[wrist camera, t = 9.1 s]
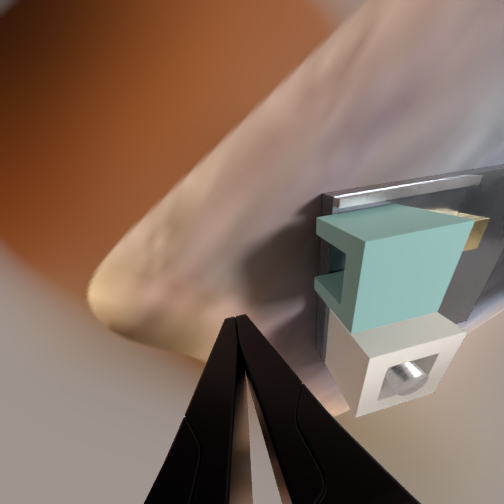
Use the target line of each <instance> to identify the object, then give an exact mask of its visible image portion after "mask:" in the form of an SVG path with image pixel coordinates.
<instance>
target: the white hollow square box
mask: <svg viewBox="0 0 504 504" xmlns="http://www.w3.org/2000/svg"><path fill="white" fill-rule="evenodd" d="M466 333H467V331H466V330H464V329H462V328H461V327H459V326H458V325H456V324H455V323H453V322H452V321H450V320H449V319H447V318H446V317H444V316H442V315H441V314H439V313H438V312H434V313H430V314H427V315H423V316H419V317H415V318H411V319H407V320H403V321H400V322H396V323H392V324H388V325H384V326H380V327H376V328H373V329H369V330H365V331H361V332H357V333H353V334H351V333H350V332H349V331H348V330H347V328H346V327H345V326H344V325H343V324H342V322H341V321H340V320H339V319H338V318H337V316H336V315H335V314H334V313H333V311H332V310H331V309H330V312H329V323H328V335H327V347H326V358H325V365H326V366H327V368H328V370H329V372H330V373H331V375H332V377H333V379H334V381H335V382H336V384H337V386H338V388H339V389H340V391H341V393H342V395H343V396H344V398H345V400H346V402H347V404H348V405H349V407H350V409H351V410H352V412H353V414H354V416H355V417H359V416H362V415H365V414H369V413H371V412H375V411H378V410H381V409H384V408H387V407H390V406H394V405H397V404H400V403H404V402H407V401H410V400H413V399H416V398H419V397H423V396H426V395H429V394H432V393H434V392H435V390H436V388H437V387H438V385H439V383H440V381H441V379H442V377H443V375H444V374H445V372H446V370H447V368H448V366H449V364H450V362H451V360H452V359H453V357H454V355H455V353H456V351H457V349H458V348H459V346H460V344H461V342H462V340H463V339H464V337H465V335H466ZM410 361H414V362H415V363H416V364H417V365H418V366H419V367H420V368H421V369H422V370H423V371H424V372H425V373H426V374H427V375H428V380H427V382H426V383H425V385H424V386H423V387H421V388H420V389H419V390H417V391H416V392H414V393H412V394H409V395H405V396H399V395H398V394H397V393H396V392H395V391H394V390H393V388H392V387H391V386H390V385H389V383H388V382H387V381H386V380H385V378H384V377H385V374H386V371H387V368H389V367H392V366H396V365H399V364H403V363H406V362H410Z"/></svg>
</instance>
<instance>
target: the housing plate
mask: <svg viewBox="0 0 504 504" xmlns="http://www.w3.org/2000/svg"><path fill="white" fill-rule="evenodd" d="M390 204H399V205H404V206H409V207H414V208H419V209H424V210H429V211H434V212H439V213H444V214H449V215H453V216H458V217H463V218H468V219H473V220H475V222H474V225H473V227H472V230H471V232H470V234H469V237H468V239H467V242H466V244H465V247H464V249H463V251H462V254H461V256H460V259H459V261H458V264H457V266H456V268H455V271H454V273H453V276H452V278H451V281H450V283H449V285H448V288H447V290H446V293H445V295H444V297H443V300H442V302H441V305H440V307H439V310H438V313H439V314H441V315H442V316H444V317H446V318H447V319H449V320H450V321H452V322H453V323H455V324H456V323H460V322H464V321H467V319H468V317H469V315H470V313H471V311H472V309H473V308H474V306H475V304H476V302H477V300H478V298H479V296H480V294H481V292H482V290H483V288H484V286H485V284H486V282H487V280H488V278H489V277H490V275H491V273H492V271H493V269H494V267H495V265H496V263H497V261H498V259H499V257H500V255H501V253H502V251H503V249H504V164H503V165H497V166H491V167H484V168H478V169H472V170H466V171H460V172H453V173H447V174H441V175H435V176H428V177H422V178H416V179H410V180H403V181H397V182H391V183H385V184H378V185H372V186H366V187H360V188H353V189H347V190H341V191H335V192H328V193H322V210H321V217H322V216H328V215H333V214H339V213H345V212H351V211H356V210H362V209H368V208H373V207H379V206H385V205H390ZM345 261H346V254H345V253H344V252H342V251H341V250H339V249H338V248H336V247H335V246H333V245H332V244H330V243H329V242H327V241H326V240H324V239H323V238H321V237H320V257H319V276H321V275H326V274H330V273H335V272H340V271H344V270H345ZM329 312H330V308H329V307H328V305H327V304H326V303H325V302H324V300H323V299H322V298H321V297H320V296H319V294H318V304H317V327H316V350H317V351H318V353H319V355H320V357H321V358H322V360H324V359H325V358H326V347H327V335H328V323H329ZM384 378H385V380H386V381H387V382H388V383H389V385H390V386H391V387H392V388H393V390H394V391H395V392H396V393H397V394H398V395H399V396H405V395H409V394H412V393H414V392H416V391H417V390H419V389H420V388H421V387H423V386H424V385H425V383H426V382H427V380H428V375H427V374H426V373H425V372H424V371H423V370H422V369H421V368H420V367H419V366H418V365H417V364H416V363H415V362H414V361H410V362H406V363H403V364H399V365H396V366H392V367H389V368H387V371H386V374H385V377H384Z"/></svg>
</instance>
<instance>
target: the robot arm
mask: <svg viewBox="0 0 504 504" xmlns="http://www.w3.org/2000/svg"><path fill="white" fill-rule="evenodd" d="M245 372H246V374H245ZM246 377H247V381H248V384H249V388H250V391H251V395H252V398H253V402H254V405H255V409H256V413H257V416H258V420H259V423H260V426H261V430H262V434H263V437H264V440H265V444H266V448H267V451H268V455H269V458H270V462H271V465H272V469H273V472H274V476H275V480H276V483H277V487H278V490H279V493H280V497H281V501H282V504H421V503H420V502H419V501H417V499H415V498H414V497H413V496H412V495H411V494H410V493H409V492H408V491H407V490H406V489H405V488H404V487H403V486H402V485H401V484H400V483H399V482H398V481H397V480H396V479H395V478H394V477H393V476H392V475H391V474H390V473H389V472H387V470H386V469H384V468H383V467H382V466H381V465H380V464H379V463H378V462H377V461H376V460H375V459H374V458H373V457H372V456H371V455H370V454H369V453H368V452H367V451H366V450H365V449H364V448H363V447H362V446H361V445H360V444H359V443H358V442H357V441H356V440H355V439H354V438H353V437H352V436H351V435H350V434H349V433H348V432H347V431H346V430H345V429H344V428H343V427H342V426H341V425H340V424H339V423H338V422H337V421H336V420H335V419H334V418H333V417H332V416H331V414H330V413H329V412H328V411H327V410H326V409H325V408H324V407H323V406H322V404H321V403H320V402H319V401H318V400H317V399H316V398H315V397H314V395H313V394H312V393H311V392H310V391H309V389H308V388H307V387H306V386H305V385H304V384H302V381H301V380H300V379H299V378H298V376H297V375H296V374H295V373H294V372H293V370H292V369H291V368H290V367H289V366H288V364H287V363H286V362H285V361H284V360H283V358H282V357H281V356H280V355H279V354H278V352H277V351H276V350H275V349H274V348H273V346H272V345H271V344H270V343H269V342H268V340H267V339H266V338H265V337H264V336H263V334H262V333H261V332H260V331H259V330H258V328H257V327H256V326H255V325H254V324H253V322H252V321H251V320H250V319H249V317H248V316H247V315H246V314H243V315H239V316H236V318H235V317H230V318H226V319H225V320H224V322H223V325H222V327H221V329H220V332H219V334H218V337H217V339H216V341H215V344H214V346H213V349H212V351H211V353H210V356H209V358H208V361H207V363H206V366H205V368H204V370H203V373H202V375H201V378H200V380H199V382H198V384H197V387H196V389H195V392H194V395H193V396H192V399H191V401H190V404H189V406H188V408H187V411H186V413H185V416H186V417H184V418H183V420H182V423H181V425H180V427H179V430H178V432H177V434H176V437H175V439H174V441H173V443H172V446H171V448H170V450H169V453H168V455H167V457H166V459H165V461H164V464H163V466H162V468H161V470H160V472H159V474H158V476H157V478H156V480H155V482H154V484H153V486H152V488H151V490H150V492H149V494H148V496H147V498H146V500H145V502H144V504H253V497H252V481H251V460H250V442H249V423H248V404H247V387H246Z"/></svg>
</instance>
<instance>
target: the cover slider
mask: <svg viewBox="0 0 504 504" xmlns="http://www.w3.org/2000/svg"><path fill="white" fill-rule="evenodd" d="M474 222H475V220H473V219H468V218H463V217H458V216H453V215H449V214H444V213H439V212H434V211H429V210H424V209H419V208H414V207H409V206H404V205H399V204H390V205H385V206H379V207H373V208H368V209H362V210H356V211H351V212H345V213H339V214H333V215H328V216H322V217H317V218H316V234H317V235H318V236H320V237H321V238H323V239H324V240H326V241H327V242H329V243H330V244H332V245H333V246H335V247H336V248H338V249H339V250H341V251H342V252H344V253H345V254H346V261H345V270H344V271H340V272H335V273H330V274H326V275H321V276H316V277H315V281H314V290H315V291H316V292H317V293H318V294H319V296H320V297H321V298H322V299H323V300H324V302H325V303H326V304H327V305H328V307H329V308H330V309H331V310H332V311H333V313H334V314H335V315H336V316H337V318H338V319H339V320H340V321H341V322H342V324H343V325H344V326H345V327H346V328H347V330H348V331H349V332H350V333H351V334H353V333H357V332H361V331H365V330H369V329H373V328H376V327H380V326H384V325H388V324H392V323H396V322H400V321H403V320H407V319H411V318H415V317H419V316H423V315H427V314H430V313H434V312H438V310H439V307H440V305H441V302H442V300H443V297H444V295H445V293H446V290H447V288H448V285H449V283H450V281H451V278H452V276H453V273H454V271H455V268H456V266H457V264H458V261H459V259H460V256H461V254H462V251H463V249H464V247H465V244H466V242H467V239H468V237H469V234H470V232H471V230H472V227H473V225H474Z"/></svg>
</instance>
